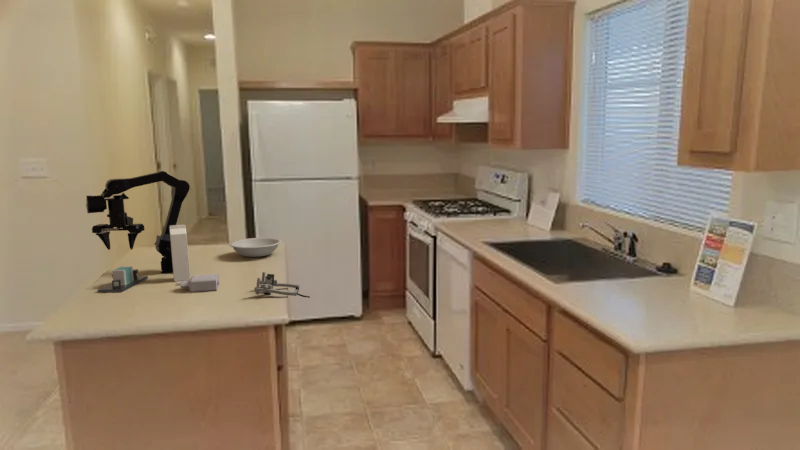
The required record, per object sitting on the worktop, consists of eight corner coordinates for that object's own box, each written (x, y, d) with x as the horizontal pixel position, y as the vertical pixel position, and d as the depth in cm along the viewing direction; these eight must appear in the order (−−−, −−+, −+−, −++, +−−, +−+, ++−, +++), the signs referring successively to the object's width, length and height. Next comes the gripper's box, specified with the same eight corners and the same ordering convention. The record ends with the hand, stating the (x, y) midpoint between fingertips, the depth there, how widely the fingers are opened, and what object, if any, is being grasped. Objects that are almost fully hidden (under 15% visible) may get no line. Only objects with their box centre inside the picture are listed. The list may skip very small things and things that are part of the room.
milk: (190, 280, 228) (186, 225, 225) (174, 282, 226) (169, 226, 222) (189, 276, 234) (185, 223, 230) (173, 278, 232) (169, 224, 228)
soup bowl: (276, 261, 259) (275, 247, 258) (223, 262, 259) (222, 247, 258) (287, 250, 283) (286, 237, 282) (238, 251, 283) (237, 237, 282)
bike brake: (251, 296, 201) (308, 303, 202) (253, 278, 200) (311, 285, 201) (259, 287, 214) (313, 293, 216) (261, 269, 213) (315, 275, 215)
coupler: (124, 284, 219) (123, 270, 218) (113, 284, 220) (112, 270, 219) (133, 279, 226) (132, 266, 225) (122, 279, 226) (121, 266, 225)
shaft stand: (147, 278, 233) (146, 268, 232) (121, 292, 213) (120, 281, 212) (126, 278, 233) (125, 268, 232) (97, 292, 213) (96, 281, 212)
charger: (178, 287, 218) (219, 285, 221) (173, 294, 209) (216, 291, 212) (177, 275, 218) (218, 273, 220) (172, 281, 209) (215, 278, 211)
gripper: (149, 207, 236) (152, 245, 239) (104, 208, 237) (108, 245, 239) (135, 211, 225) (139, 250, 228) (89, 212, 226) (93, 251, 228)
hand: (120, 249), depth 231 cm, fingers open, 9 cm apart
